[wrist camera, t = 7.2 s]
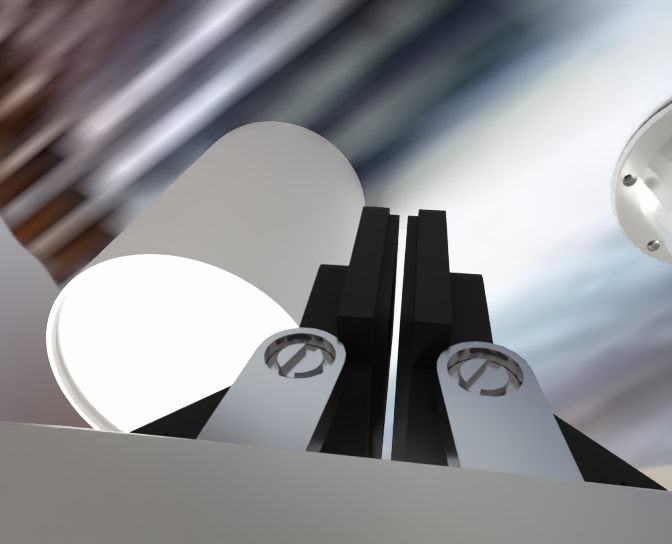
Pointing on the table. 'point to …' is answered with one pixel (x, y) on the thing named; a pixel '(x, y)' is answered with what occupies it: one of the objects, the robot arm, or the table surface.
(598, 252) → the table surface
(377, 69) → the table surface
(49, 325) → the canister
